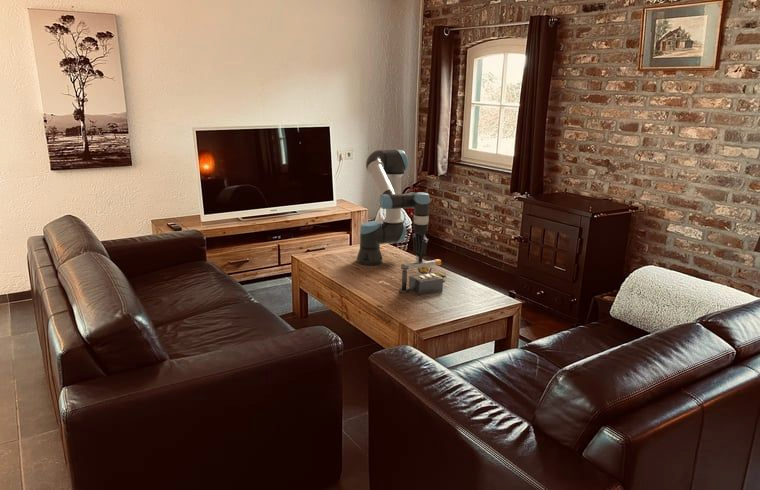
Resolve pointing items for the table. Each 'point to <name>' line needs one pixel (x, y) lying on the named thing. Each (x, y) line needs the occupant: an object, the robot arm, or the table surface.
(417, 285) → the block
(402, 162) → the robot arm
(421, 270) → the figurine
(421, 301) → the table surface
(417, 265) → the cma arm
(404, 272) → the post
